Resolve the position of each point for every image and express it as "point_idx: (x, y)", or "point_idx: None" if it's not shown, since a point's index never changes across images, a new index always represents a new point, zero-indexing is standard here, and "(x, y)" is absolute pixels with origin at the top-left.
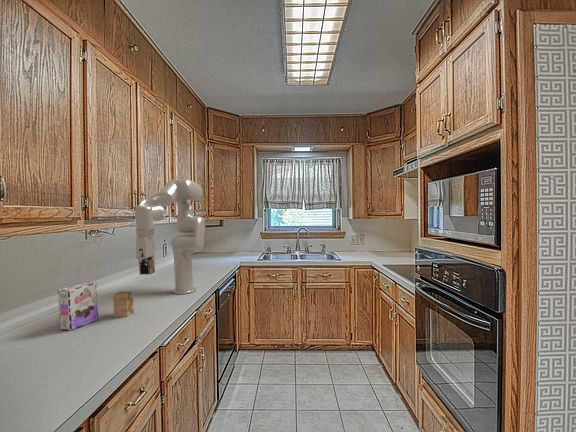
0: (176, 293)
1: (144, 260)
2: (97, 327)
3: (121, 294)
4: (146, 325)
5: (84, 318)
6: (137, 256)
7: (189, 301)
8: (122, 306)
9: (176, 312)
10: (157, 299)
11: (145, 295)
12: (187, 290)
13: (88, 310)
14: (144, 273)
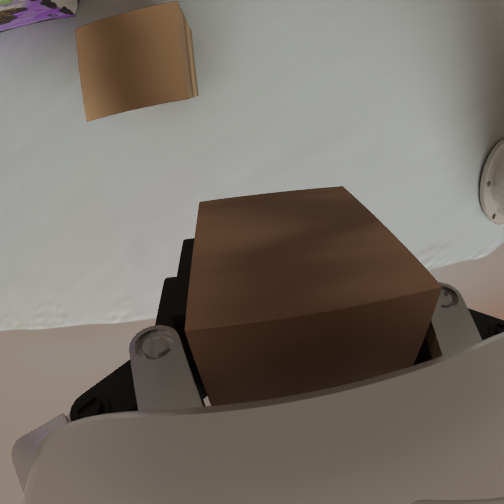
0: (486, 163)
1: (336, 355)
2: (5, 96)
3: (83, 86)
4: (63, 263)
5: (2, 24)
6: (48, 476)
7: None
8: None
9: None
10: (429, 104)
11: (480, 31)
12: (494, 205)
13: (3, 16)
14: None
